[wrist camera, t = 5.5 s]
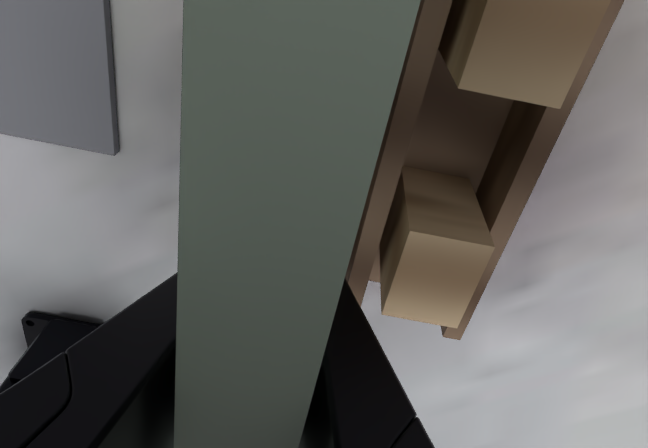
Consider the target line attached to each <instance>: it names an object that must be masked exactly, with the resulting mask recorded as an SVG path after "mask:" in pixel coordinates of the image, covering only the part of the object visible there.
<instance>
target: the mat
mask: <svg viewBox="0 0 648 448" xmlns="http://www.w3.org/2000/svg"><path fill="white" fill-rule="evenodd" d="M0 134H5V135H10V136H15V137H20V138H25V139H30V140H36V141H41V142H46V143H51V144H56V145H62V146H67V147H72V148H77V149H82V150H87V151H93V152H98V153H103V154H108V155H113V156H115V155H116V154H117V153H118V152H119V141H118V126H117V111H116V95H115V80H114V65H113V50H112V35H111V20H110V4H109V0H0Z"/></svg>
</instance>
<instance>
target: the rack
mask: <svg viewBox="0 0 648 448" xmlns="http://www.w3.org/2000/svg"><path fill="white" fill-rule="evenodd" d="M623 2H624V0H611V2H610V4H609V6H608V8H607V10H606V12H605V14H604V16H603V19H602V21H601V23H600V25H599V27H598V29H597V31H596V34H595V36H594V38H593V40H592V42H591V44H590V46H589V48H588V51H587V53H586V55H585V57H584V59H583V61H582V63H581V66H580V68H579V70H578V72H577V74H576V76H575V78H574V80H573V83H572V85H571V87H570V89H569V91H568V93H567V95H566V97H565V100H564V102H563V104H562V106H561V108H560V109H557V108H552V107H547V106H542V105H538V104H533V103H528V102H523V101H518V100H513V99H508V98H503V97H498V96H493V95H488V94H483V93H478V92H473V91H469V90H464V89H459V88H458V87H457V85H456V83H455V81H454V79H453V77H452V75H451V73H450V71H449V69H448V68H447V66H446V64H445V62H444V60H443V58H442V56H441V54H440V52H439V50H438V47H439V44H440V40H441V37H442V34H443V30H444V27H445V24H446V20H447V17H448V14H449V10H450V7H451V4H452V0H421V1H420V5H419V9H418V12H417V16H416V20H415V23H414V27H413V31H412V34H411V38H410V42H409V45H408V49H407V52H406V56H405V60H404V63H403V67H402V71H401V74H400V78H399V82H398V85H397V89H396V93H395V96H394V100H393V104H392V107H391V111H390V115H389V118H388V122H387V125H386V129H385V133H384V136H383V140H382V144H381V147H380V151H379V155H378V158H377V162H376V166H375V169H374V173H373V177H372V180H371V184H370V188H369V191H368V195H367V199H366V202H365V206H364V209H363V213H362V217H361V220H360V224H359V228H358V231H357V235H356V239H355V242H354V246H353V250H352V253H351V257H350V261H349V264H348V268H347V272H346V275H345V279H346V281H347V283H348V284H349V286H350V288H351V290H352V292H353V294H354V296H355V298H356V300H357V302H358V303H359V305H360V307H361V303H362V300H363V297H364V293H365V290H366V287H367V283H368V280H370V281H375V282H380V252H379V244H380V240H381V237H382V234H383V230H384V227H385V224H386V220H387V217H388V214H389V210H390V207H391V204H392V200H393V197H394V194H395V190H396V187H397V184H398V180H399V177H400V174H401V170H402V167H403V166H406V167H411V168H416V169H421V170H426V171H431V172H436V173H441V174H446V175H451V176H457V177H462V178H467V179H470V182H471V184H472V187H473V190H474V192H475V195H476V198H477V200H478V203H479V206H480V208H481V211H482V214H483V216H484V219H485V222H486V224H487V227H488V229H489V232H490V235H491V237H492V240H493V243H494V245H495V249H494V251H493V253H492V255H491V257H490V259H489V262H488V264H487V266H486V268H485V270H484V272H483V274H482V276H481V279H480V281H479V283H478V285H477V287H476V289H475V291H474V293H473V296H472V298H471V300H470V302H469V304H468V306H467V308H466V311H465V313H464V315H463V317H462V319H461V321H460V323H459V325H458V328H451V327H446V326H441V329H442V335H443V337H446V338H451V339H457V340H460V339H461V337H462V335H463V333H464V331H465V329H466V327H467V325H468V323H469V321H470V319H471V316H472V314H473V312H474V310H475V308H476V306H477V304H478V302H479V300H480V298H481V296H482V294H483V292H484V290H485V288H486V285H487V283H488V281H489V279H490V277H491V275H492V273H493V271H494V269H495V267H496V265H497V263H498V261H499V259H500V256H501V254H502V252H503V250H504V248H505V246H506V244H507V242H508V240H509V238H510V236H511V234H512V232H513V230H514V228H515V225H516V223H517V221H518V219H519V217H520V215H521V213H522V211H523V209H524V207H525V205H526V203H527V201H528V199H529V196H530V194H531V192H532V190H533V188H534V186H535V184H536V182H537V180H538V178H539V176H540V174H541V172H542V170H543V168H544V165H545V163H546V161H547V159H548V157H549V155H550V153H551V151H552V149H553V147H554V145H555V143H556V141H557V139H558V137H559V134H560V132H561V130H562V128H563V126H564V124H565V122H566V120H567V118H568V116H569V114H570V112H571V110H572V108H573V105H574V103H575V101H576V99H577V97H578V95H579V93H580V91H581V89H582V87H583V85H584V83H585V81H586V79H587V77H588V74H589V72H590V70H591V68H592V66H593V64H594V62H595V60H596V58H597V56H598V54H599V52H600V50H601V48H602V46H603V43H604V41H605V39H606V37H607V35H608V33H609V31H610V29H611V27H612V25H613V23H614V21H615V19H616V17H617V14H618V12H619V10H620V8H621V6H622V4H623ZM380 283H381V282H380Z"/></svg>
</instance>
